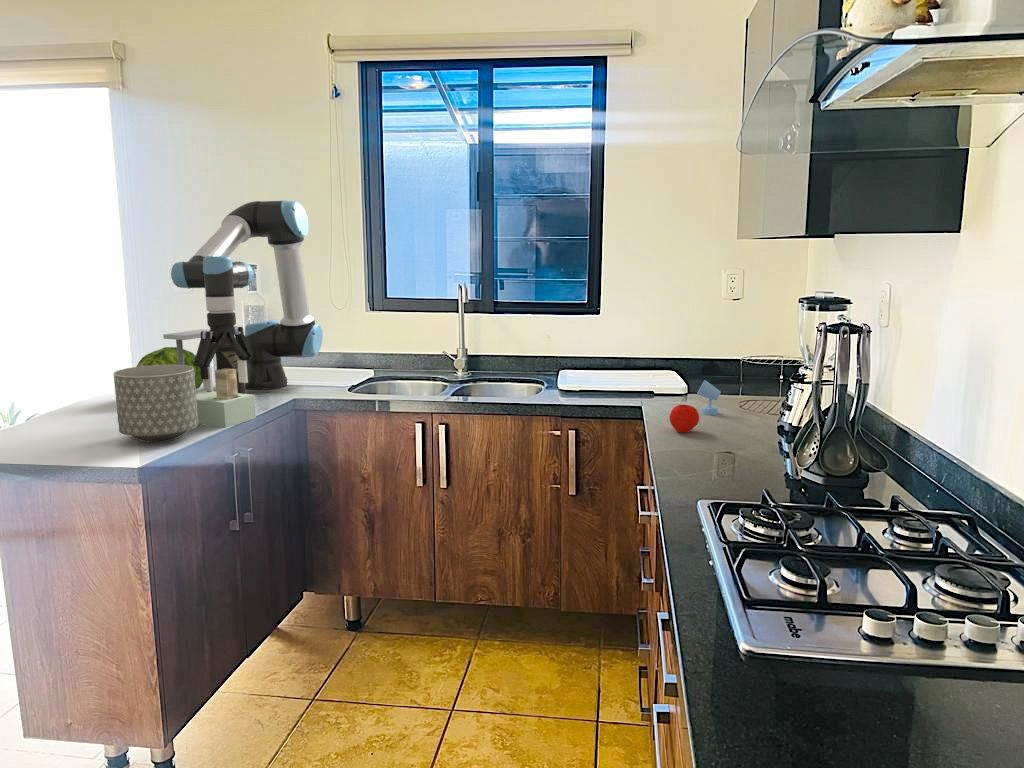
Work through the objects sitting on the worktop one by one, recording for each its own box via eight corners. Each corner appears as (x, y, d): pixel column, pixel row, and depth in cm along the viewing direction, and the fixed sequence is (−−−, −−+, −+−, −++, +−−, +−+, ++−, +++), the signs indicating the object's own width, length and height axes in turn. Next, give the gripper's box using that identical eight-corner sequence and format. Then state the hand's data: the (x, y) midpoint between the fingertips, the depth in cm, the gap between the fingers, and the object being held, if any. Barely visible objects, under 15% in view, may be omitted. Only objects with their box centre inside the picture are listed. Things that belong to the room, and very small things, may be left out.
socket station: (170, 421, 223) (163, 334, 219) (207, 412, 236) (201, 329, 231) (223, 428, 216) (216, 337, 211) (258, 417, 228) (252, 332, 224)
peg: (228, 415, 226) (225, 368, 224) (239, 417, 225) (235, 369, 222) (218, 418, 223) (214, 370, 220) (229, 420, 221) (225, 371, 218)
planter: (146, 429, 215) (140, 364, 212) (212, 430, 213) (207, 364, 210) (104, 446, 197) (97, 376, 193) (175, 448, 195) (169, 377, 191)
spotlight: (695, 414, 230) (719, 415, 228) (696, 380, 228) (721, 382, 226) (696, 410, 234) (720, 412, 232) (697, 378, 233) (721, 379, 231)
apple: (704, 433, 206) (705, 406, 205) (677, 436, 204) (678, 408, 203) (689, 427, 214) (690, 400, 213) (663, 429, 212) (664, 402, 210)
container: (238, 408, 241) (233, 344, 237) (212, 407, 243) (207, 343, 239) (252, 402, 249) (248, 340, 246) (227, 401, 251) (222, 340, 247)
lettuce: (105, 380, 244) (137, 350, 236) (157, 357, 265) (188, 328, 256) (142, 426, 246) (175, 398, 238) (191, 399, 267) (223, 372, 258)
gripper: (242, 307, 231) (247, 378, 235) (175, 315, 208) (182, 393, 212) (262, 308, 228) (266, 380, 232) (196, 316, 205) (203, 395, 209)
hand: (226, 386), depth 222 cm, fingers open, 13 cm apart
